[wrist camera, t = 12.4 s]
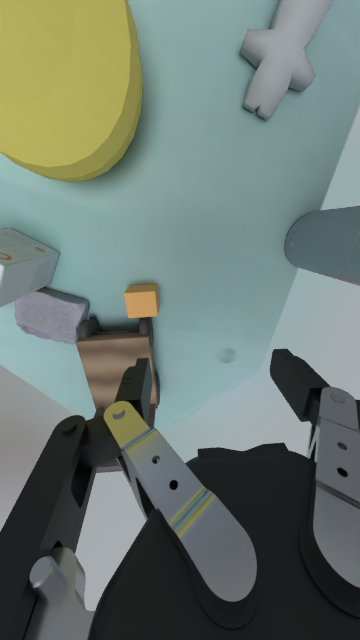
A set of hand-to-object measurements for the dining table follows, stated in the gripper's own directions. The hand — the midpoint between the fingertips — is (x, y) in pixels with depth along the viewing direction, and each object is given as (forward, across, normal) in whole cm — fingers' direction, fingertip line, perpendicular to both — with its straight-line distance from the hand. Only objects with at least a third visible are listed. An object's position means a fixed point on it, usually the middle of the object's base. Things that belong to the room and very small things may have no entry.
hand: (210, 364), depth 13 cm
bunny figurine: (+26, -13, -28) cm, 41 cm away
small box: (+26, +26, -5) cm, 37 cm away
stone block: (+27, +25, +6) cm, 37 cm away
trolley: (+26, +13, +16) cm, 33 cm away
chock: (+26, +8, +3) cm, 28 cm away
